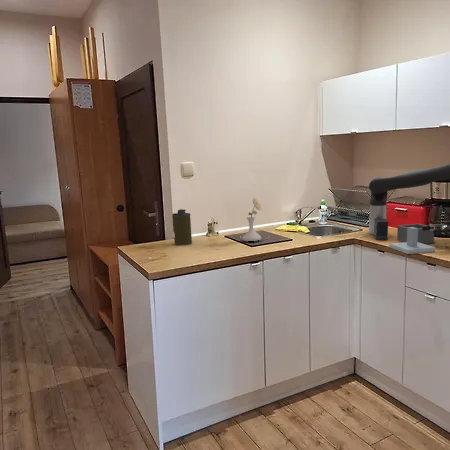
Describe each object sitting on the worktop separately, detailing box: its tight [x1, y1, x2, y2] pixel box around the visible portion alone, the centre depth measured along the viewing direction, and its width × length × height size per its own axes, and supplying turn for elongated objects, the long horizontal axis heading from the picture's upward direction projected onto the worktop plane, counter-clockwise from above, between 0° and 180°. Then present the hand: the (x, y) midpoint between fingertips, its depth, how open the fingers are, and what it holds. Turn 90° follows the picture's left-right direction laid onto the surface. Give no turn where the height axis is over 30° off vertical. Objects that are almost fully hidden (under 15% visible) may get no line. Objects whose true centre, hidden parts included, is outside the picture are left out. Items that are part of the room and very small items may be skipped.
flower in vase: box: [241, 197, 262, 242], centre depth 247 cm, size 13×11×25 cm
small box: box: [373, 218, 389, 241], centre depth 242 cm, size 11×6×10 cm, turn 168°
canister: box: [171, 208, 193, 247], centre depth 248 cm, size 11×10×20 cm
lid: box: [389, 227, 436, 255], centre depth 213 cm, size 15×15×11 cm
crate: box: [396, 223, 435, 244], centre depth 231 cm, size 13×13×8 cm
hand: (428, 230), depth 214 cm, fingers open, 8 cm apart
